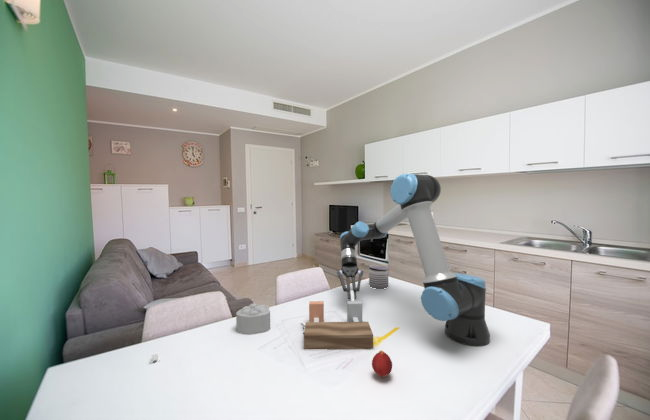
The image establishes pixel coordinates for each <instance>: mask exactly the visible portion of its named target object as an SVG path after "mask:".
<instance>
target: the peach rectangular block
mask: <svg viewBox="0 0 650 420" xmlns="http://www.w3.org/2000/svg"><path fill="white" fill-rule="evenodd" d="M324 303H325V302H324V301H323V300H322V301H321V300H320V301H314V300H313V301H309V302H308V319H309V320H308V322H325V321H324V317H325V316H324V315H325V314H324V312H325V311H324V309H325V304H324Z"/></svg>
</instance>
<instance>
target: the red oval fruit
mask: <svg viewBox="0 0 650 420" xmlns="http://www.w3.org/2000/svg"><path fill="white" fill-rule="evenodd" d="M371 367H372V371H374V373H375V374H376V375H377V376H379V377H381V378H384V377H387V376H389V375H390V374H391V372H392V370H393V362H392V359H391V357H390V355H389V354H387V353H386V352H385V351H384V350H382V349H381V350H379V352H376V354H375V355H373V358H372V359H371Z"/></svg>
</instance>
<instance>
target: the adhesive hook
mask: <svg viewBox="0 0 650 420" xmlns="http://www.w3.org/2000/svg"><path fill="white" fill-rule="evenodd" d="M159 354H161V352H160V351H159V352H156V353H153V354H151V356H150V357H151V358H150V359H149V364H150V365H153V364H154V363H153V362H154V361H155V362H156V363H160V360H161V358H160V357H159Z"/></svg>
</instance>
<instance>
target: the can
mask: <svg viewBox="0 0 650 420" xmlns="http://www.w3.org/2000/svg"><path fill="white" fill-rule="evenodd" d="M368 269H369V270H368V277H369V278H368V286H369V285H370V287H372V288H376V289H384V288H387V287H388V288H389V269H390V268H389V267H387V266H382V265H369V266H368ZM370 287H369V288H370ZM372 288H371V289H372ZM388 288H387V289H388ZM376 289H375V290H376ZM384 290H385V289H384Z"/></svg>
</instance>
